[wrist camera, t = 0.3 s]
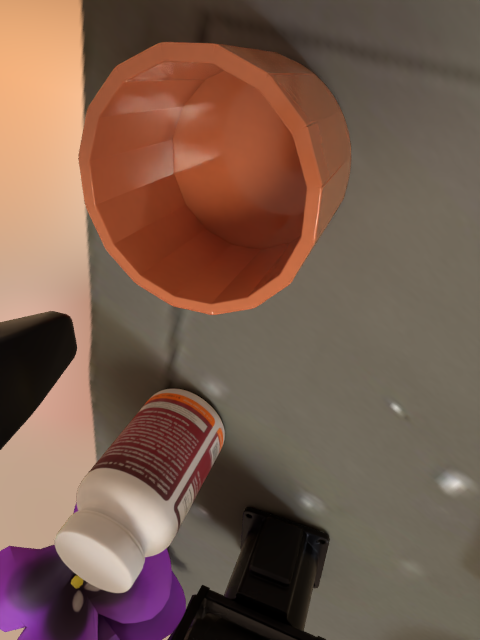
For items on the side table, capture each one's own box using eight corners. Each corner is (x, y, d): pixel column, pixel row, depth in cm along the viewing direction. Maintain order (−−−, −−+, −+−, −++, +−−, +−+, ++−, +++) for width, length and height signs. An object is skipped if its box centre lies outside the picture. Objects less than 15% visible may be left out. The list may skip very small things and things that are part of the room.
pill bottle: (134, 394, 32) (19, 522, 23) (199, 376, 28) (96, 516, 19) (177, 458, 33) (86, 600, 24) (243, 448, 30) (166, 606, 21)
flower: (90, 456, 48) (131, 470, 37) (150, 568, 50) (208, 613, 39) (-54, 549, 40) (-54, 601, 29) (25, 680, 42) (52, 777, 31)
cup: (334, 266, 22) (303, 335, 16) (174, 238, 24) (96, 290, 18) (369, 55, 17) (341, 46, 11) (166, 49, 20) (60, 38, 14)
